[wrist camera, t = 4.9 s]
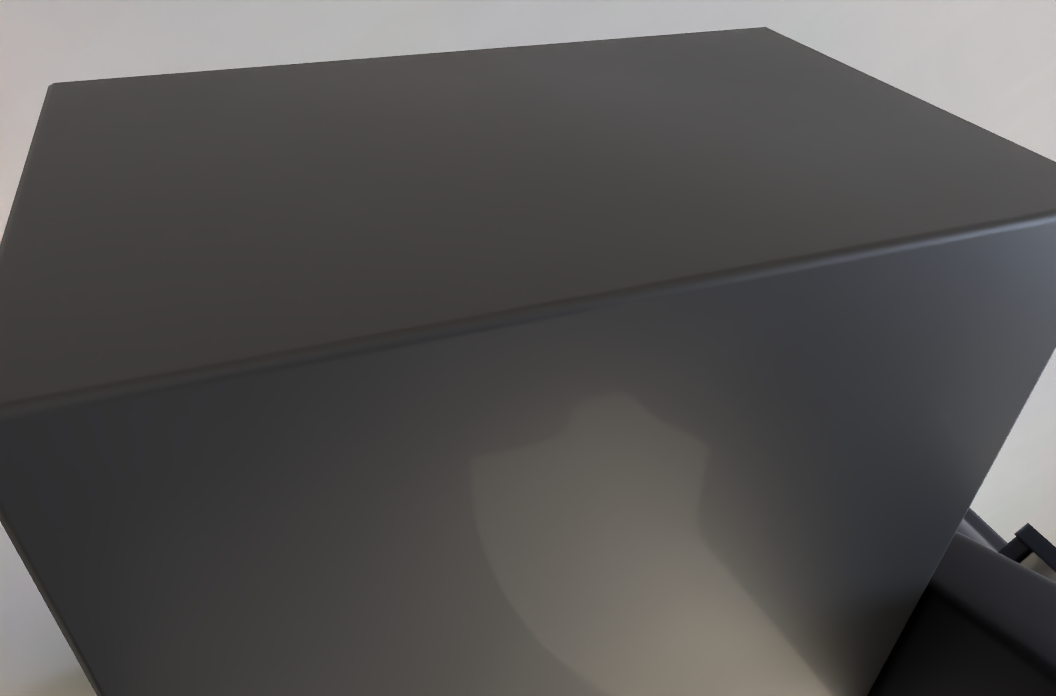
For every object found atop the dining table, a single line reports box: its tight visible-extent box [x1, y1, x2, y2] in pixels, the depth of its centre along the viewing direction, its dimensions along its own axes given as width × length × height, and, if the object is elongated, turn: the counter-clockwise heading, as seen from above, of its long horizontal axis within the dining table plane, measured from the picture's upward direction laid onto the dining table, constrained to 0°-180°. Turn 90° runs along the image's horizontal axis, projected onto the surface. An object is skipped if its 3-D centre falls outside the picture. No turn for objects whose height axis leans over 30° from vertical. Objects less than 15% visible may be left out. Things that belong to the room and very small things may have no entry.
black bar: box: [0, 27, 1056, 696], centre depth 8 cm, size 6×10×4 cm, turn 178°
